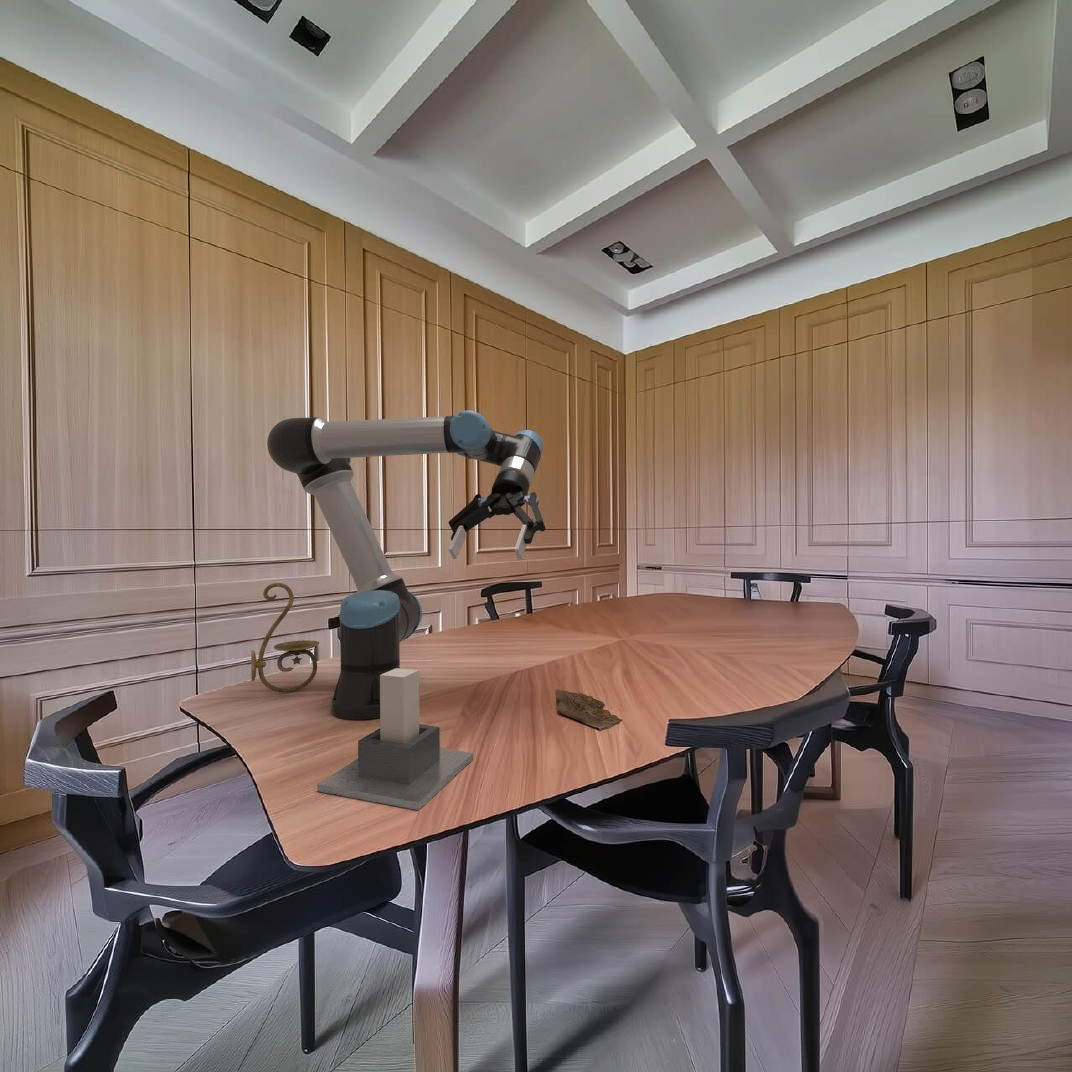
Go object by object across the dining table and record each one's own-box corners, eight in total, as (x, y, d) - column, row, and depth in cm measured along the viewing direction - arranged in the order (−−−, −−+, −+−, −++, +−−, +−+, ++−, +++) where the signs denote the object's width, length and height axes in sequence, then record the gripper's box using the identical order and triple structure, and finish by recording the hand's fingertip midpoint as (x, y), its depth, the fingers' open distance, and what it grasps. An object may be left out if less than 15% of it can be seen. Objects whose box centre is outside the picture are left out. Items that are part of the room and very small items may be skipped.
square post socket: (317, 791, 71) (317, 747, 71) (386, 746, 86) (386, 710, 86) (418, 810, 66) (418, 763, 66) (473, 759, 81) (473, 721, 81)
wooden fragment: (630, 729, 94) (630, 724, 94) (573, 735, 92) (573, 729, 92) (585, 689, 119) (585, 685, 119) (539, 693, 117) (539, 688, 117)
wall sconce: (251, 703, 110) (250, 585, 110) (251, 691, 118) (250, 582, 118) (321, 693, 117) (321, 582, 117) (317, 682, 125) (316, 579, 125)
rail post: (380, 771, 75) (380, 675, 75) (396, 760, 79) (395, 668, 79) (404, 775, 74) (403, 677, 74) (419, 763, 78) (418, 670, 78)
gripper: (571, 493, 110) (551, 568, 96) (466, 497, 119) (433, 566, 104) (565, 465, 105) (542, 539, 91) (455, 471, 114) (419, 540, 99)
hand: (484, 554), depth 98 cm, fingers open, 13 cm apart
